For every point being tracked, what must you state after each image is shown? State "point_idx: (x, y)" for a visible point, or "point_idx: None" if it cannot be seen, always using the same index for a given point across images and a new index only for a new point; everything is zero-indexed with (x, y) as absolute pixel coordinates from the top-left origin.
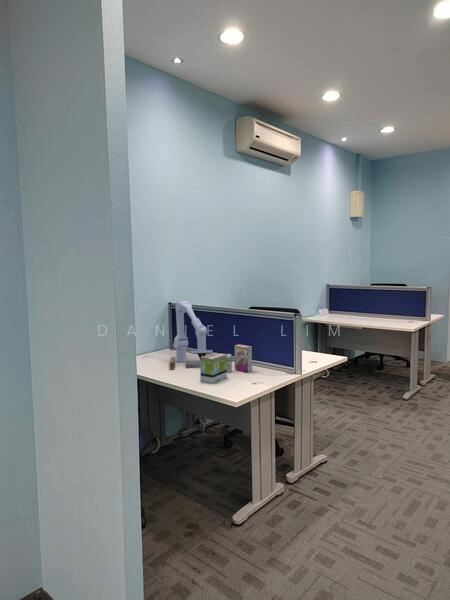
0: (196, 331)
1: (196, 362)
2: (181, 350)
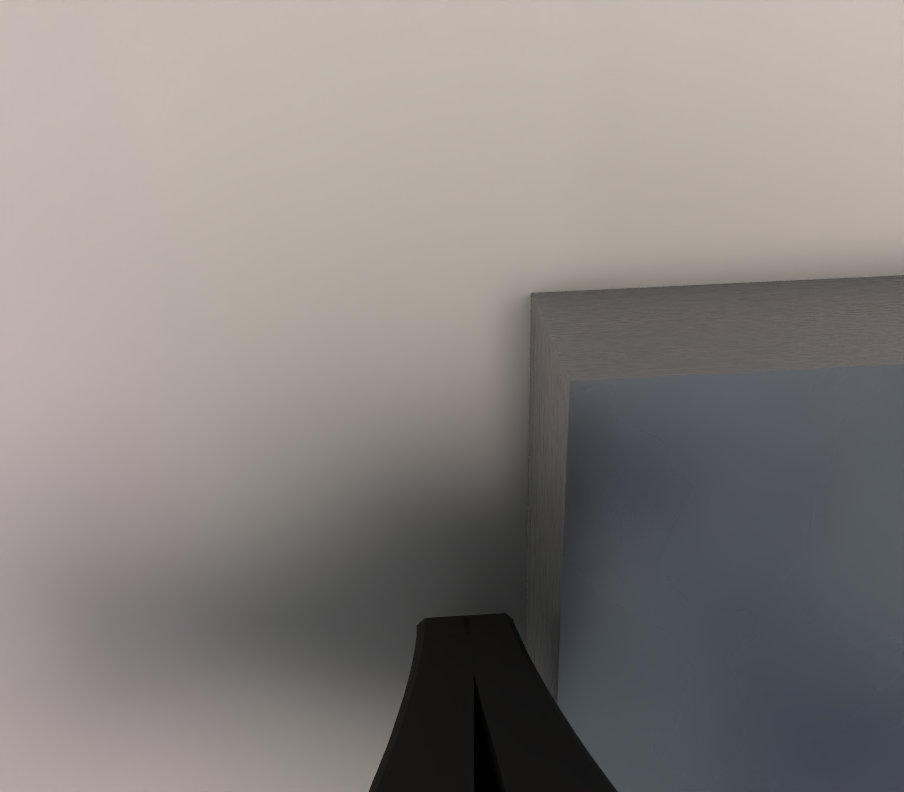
0: None
1: (779, 692)
2: None
